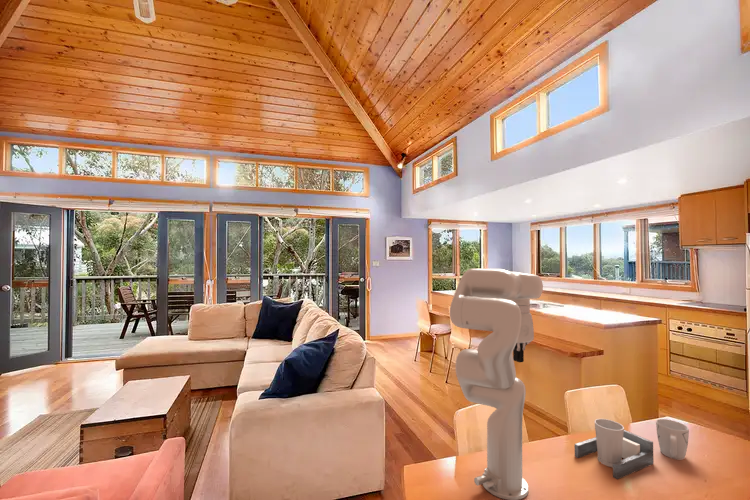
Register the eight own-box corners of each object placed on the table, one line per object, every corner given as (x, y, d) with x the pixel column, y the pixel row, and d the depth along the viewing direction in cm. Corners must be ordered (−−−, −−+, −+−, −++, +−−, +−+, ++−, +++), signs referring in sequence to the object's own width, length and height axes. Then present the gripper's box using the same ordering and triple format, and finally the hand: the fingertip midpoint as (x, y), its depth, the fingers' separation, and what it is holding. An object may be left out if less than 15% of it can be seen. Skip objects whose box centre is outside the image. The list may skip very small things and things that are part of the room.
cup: (617, 456, 116) (617, 420, 116) (629, 470, 108) (628, 431, 108) (590, 453, 117) (590, 417, 118) (600, 467, 110) (600, 428, 110)
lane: (617, 479, 104) (616, 455, 104) (574, 456, 116) (574, 434, 116) (653, 463, 112) (653, 441, 112) (610, 443, 124) (610, 423, 124)
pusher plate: (637, 464, 111) (636, 445, 111) (605, 449, 120) (604, 431, 120) (640, 463, 111) (639, 444, 112) (607, 448, 121) (607, 430, 121)
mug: (691, 469, 109) (691, 437, 109) (657, 459, 114) (656, 429, 114) (687, 453, 118) (687, 423, 118) (655, 445, 123) (655, 416, 123)
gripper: (511, 312, 118) (511, 366, 117) (541, 309, 124) (542, 361, 124) (494, 309, 125) (494, 360, 124) (524, 307, 131) (524, 356, 130)
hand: (518, 361), depth 124 cm, fingers closed
